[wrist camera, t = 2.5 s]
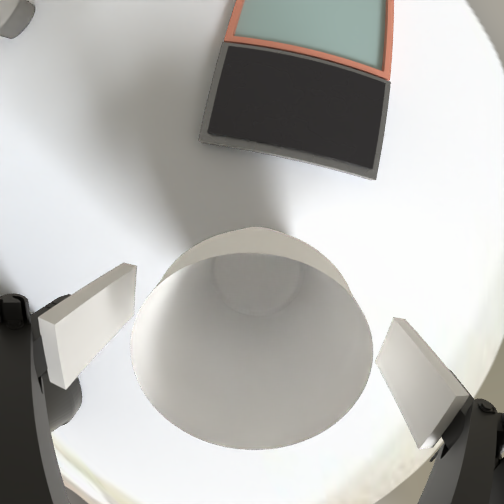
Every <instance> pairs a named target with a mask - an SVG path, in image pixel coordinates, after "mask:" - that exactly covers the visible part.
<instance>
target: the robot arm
mask: <svg viewBox="0 0 504 504" xmlns="http://www.w3.org/2000/svg"><path fill="white" fill-rule="evenodd" d="M136 271H137V266H135V265H131V264H127V263H122V264H120V265H119V266H117V267H115V268H114V269H112V270H110V271H109V272H107V273H106V274H104V275H102V276H101V277H99V278H97V279H96V280H94V281H93V282H91V283H89V284H88V285H86V286H85V287H83V288H82V289H80V290H78V291H77V292H75V293H74V294H72V295H70V294H68V295H65V296H61V297H59V298H57V299H55V300H54V301H52V302H51V303H49V304H47V305H46V306H45V307H43V308H41V309H40V310H38V311H37V312H35V313H34V314H32V315H30V312H29V304H28V299H27V298H26V297H25V296H22V295H19V294H7V295H3V296H1V297H0V504H70V501H69V499H68V495H67V493H66V490H65V486H64V483H63V480H62V476H61V473H60V469H59V466H58V462H57V458H56V454H55V450H54V445H53V441H52V436H51V432H52V431H54V430H55V429H57V428H58V427H60V426H62V425H65V424H67V423H68V422H69V421H70V420H71V419H72V418H73V417H74V415H75V414H76V412H77V411H78V410H79V408H80V406H81V403H82V392H81V387H80V383H79V380H78V376H79V374H80V373H81V372H82V371H83V370H84V369H85V368H86V367H87V366H88V364H89V363H90V362H91V361H92V360H93V359H94V358H95V357H96V356H97V354H98V353H99V352H100V351H101V350H102V349H103V348H104V347H105V346H106V345H107V344H108V343H109V341H110V340H111V339H112V338H113V337H114V336H115V335H116V334H117V333H118V332H119V331H120V330H121V329H122V328H123V326H124V325H125V324H126V323H127V322H128V321H129V320H130V319H131V318H132V317H133V316H134V305H135V286H136ZM375 363H376V365H377V366H378V368H379V370H380V372H381V374H382V376H383V378H384V380H385V382H386V384H387V385H388V387H389V389H390V391H391V393H392V395H393V397H394V399H395V401H396V403H397V405H398V407H399V409H400V411H401V413H402V415H403V417H404V419H405V421H406V423H407V425H408V427H409V429H410V432H411V434H412V436H413V438H414V440H415V442H416V444H417V446H418V448H419V449H425V448H432V447H434V445H435V444H436V443H437V442H438V440H439V439H440V438H441V437H442V439H443V440H444V444H443V445H442V446H441V447H440V448H439V450H438V451H437V452H436V453H435V455H434V456H433V457H432V458H431V460H430V462H432V461H433V460H434V459H435V458H436V460H435V463H434V466H433V469H432V471H431V474H430V476H429V479H428V481H427V484H426V486H425V488H424V491H423V493H422V495H421V497H420V499H419V502H418V504H504V457H503V458H502V457H501V454H502V453H503V452H504V413H497V410H496V408H495V407H494V406H493V405H492V404H491V403H489V402H488V401H486V400H484V399H475V400H474V398H473V397H472V396H471V395H470V393H469V392H468V391H467V390H466V388H465V387H464V386H463V385H462V384H461V382H460V381H459V380H458V379H457V377H456V376H455V375H454V374H453V372H452V371H451V370H449V369H448V368H447V367H446V366H445V364H444V363H443V362H442V361H441V360H440V358H439V357H438V356H437V355H436V354H435V352H434V351H433V350H432V349H431V348H430V347H429V346H428V344H427V343H426V342H425V341H424V340H423V339H422V337H421V336H420V335H419V334H418V333H417V332H416V331H415V330H414V328H413V327H412V326H411V325H410V324H409V323H408V322H407V321H406V320H405V319H401V318H394V317H393V319H392V322H391V325H390V327H389V330H388V332H387V335H386V337H385V340H384V342H383V344H382V347H381V349H380V351H379V354H378V356H377V358H376V360H375Z"/></svg>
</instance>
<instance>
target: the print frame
mask: <svg viewBox="0 0 504 504" xmlns="http://www.w3.org/2000/svg"><path fill="white" fill-rule="evenodd" d="M393 23H394V0H236V3H235V6H234V9H233V12H232V15H231V18H230V22H229V25H228V28H227V32H226V35H225V38H224V42H226V43H235V44H244V45H251V46H258V47H264V48H270V49H276V50H281V51H286V52H291V53H296V54H300V55H305V56H309V57H313V58H317V59H321V60H325V61H329V62H332V63H336V64H339V65H343V66H346V67H349V68H352V69H356V70H359V71H362V72H365V73H368V74H370V75H373V76H376V77H379V78H382V79H384V80H387V81H389V80H390V73H391V61H392V46H393Z"/></svg>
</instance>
